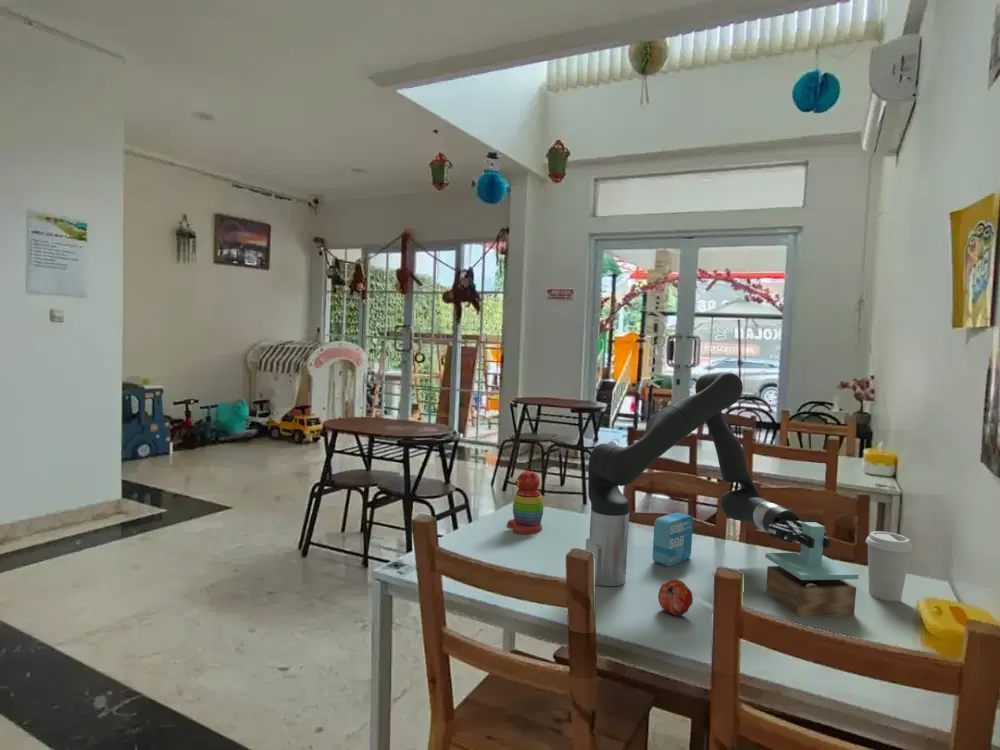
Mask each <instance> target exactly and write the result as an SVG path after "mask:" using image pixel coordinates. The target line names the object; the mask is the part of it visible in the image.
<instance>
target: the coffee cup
mask: <svg viewBox="0 0 1000 750" xmlns="http://www.w3.org/2000/svg"><path fill="white" fill-rule="evenodd" d="M865 543H866V544H867V557H868V558H867V559H868V560H867V562H868V563H867V565H868V567H867V568H868V594H869V595H871V596H872V597H874V598H876V599H880V600H883V601H888V602H899V603H900V602H902V598H903V592H904V586H905V580H906V576H907V570H908V565H909V560H910V556H911V552H913V551H914V548H913V544H912V543H911V540H910V538H908V537H907V536H904V535H902V534H898V533H894V532H889V531H881V530H880V531H879V530H877V531H871V532H870V533H869V535H868V536H867V537H866V539H865Z"/></svg>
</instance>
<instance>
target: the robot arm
mask: <svg viewBox="0 0 1000 750" xmlns="http://www.w3.org/2000/svg"><path fill="white" fill-rule="evenodd" d="M694 387H695V393H694V394H692V395H689V396H686V397H684V398H682V399H678V400H676V401H673V402H672V403H670V404H668V405H666V406H664V407H663V408H662V409H660V410H659V411H657V412H656V413H654V414H653V415H651V417H650V418H649V420H648V421H647V424H646V427H645V431H644V434H643V436H642V437H641V438H639V439H638V440H636V441H635V442H633V443H632V444H630V445H628V446H619V445H614V444H611V443H600V444H597V445H596V446H595V447H594V448H593V450H592V451H591V453H590V455H589V459H588V468H587V471H588V473H587V474H588V476H587V477H588V478H587V480H588V481H587V485H588V486H587V487H588V491H587V492H588V499H589V501H590V521H589V537H588V538H586V540H585V552H586V551H590V552H593V553H594V559H595V585H594V586H604V587H618V586H622V585H624V584H625V583H626V580H627V579H626V578H627V562H628V561H627V560H628V559H627V558H628V541H629V521H630V500H628V498H627V497H626V496H625V495H624V494H623V493H622V492H621V490H620V489H619V487H624V486H628V485H630V484H631V483H632V482H634V481H635V480H637V478H638V477H640V475H642V473H644V472H645V471H646V470H647V469H648V468H649V467H650V466H651V465H652V464H653V463H654V462H655V461H656V460H657V459H659V458H660V457H661V456H662V455H664V454H665V453H666V452H667V451H668V450H671V448H673V447H674V446H676V445H677V444H678V443H680V442H681V441H682V440H684V439H685V438H686V437H688V436H689V435H691V434H692V433H693V432H694V431H695V430H697V429H698V428H700V427H701V426H702V425H703V424H704V423H706V425H707V428H708V430H709V433H710V437H711V438H712V441H713V445H714V448H715V453H716V456H717V461H718V466H719V470H720V474H721V478H722V480H723V481H724V482H726V483H738V484H739V486H740V488H739V489H735V490H729V491H727V492H725V493H723V495H721V498H720V499H719V501H720V502H719V504H720V508H721V510H722V512H723V513H724V515H726V516H727V517H729V518H731V519H733V520H736V521H740V522H745V523H751V524H752V525H755V526H756V527H758V528H759V529H760V530H762V531H763V532H765V533H766V534H768V536H770V537H772V538H776V539H777V540H779V541H784V542H787V543H794V542H795V543H796V544H801V543H802V544H803V545H805V546H807V547H809V548H814V542H815V540H814V538H812V537H810V536H808V535H806V534H802V525H803V522H804V521H801V520H800V518H799V516H798V515H797V514H796V513H795V512H794V511H792V510H790V509H787V508H786V507H783V506H782V505H780V504H777V503H774V502H771V501H769V500H766V499H765V498H762V497H761V494H760V493H759V491H758V489H757V487H756V485H755V483H754V481H753V479H752V476H751V474H750V472H749V470H748V465H747V464H748V463H747V460H746V455H745V451H744V449H743V446H742V444H741V442H740V441H739V439H738V438H737V437H736V435H735V434H734V432H733V431H732V429H731V428H730V427H729V425H728V424H727V422H726V420H725V418H724V416H723V411H724V410H726V409H728V408H729V407H732V406H733V405H735V404H736V403H737V402H738V401H739V400H740V399H741V396H742V394H743V387H744V386H743V382H742V380H741V378H740V376H738V375H737V374H735V373H734V372H729V371H722V372H721V371H720V372H714V373H709V374H707V373H706V374H704V375H703V374H702V376H699V378H698V379H697V381H696V382H695V385H694ZM830 546H831V538H829V537H827V530H824V539H823V549H829V548H830Z"/></svg>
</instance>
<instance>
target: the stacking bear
mask: <svg viewBox="0 0 1000 750" xmlns="http://www.w3.org/2000/svg"><path fill="white" fill-rule="evenodd" d="M515 485H516V487H517V488H518V490H516V493H515V495H514V499H513V503H512V513H513V518H511V519H509V520H508V521H507V523H506V525H507V527H509V528H512V533H513V534H515V535H521V536H522V535H531V534H536V533H539V532H541V531H542V530H543V525H542V518H543V516H544V509H545V508H544V501H543V496H542V494H541V492H540V490H539V487H540V477H539V474H538V473H536V472H534V471H530V470H528V469H525V471H523V472H522V473H520V475H518V477H516V479H515Z"/></svg>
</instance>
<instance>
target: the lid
mask: <svg viewBox="0 0 1000 750" xmlns="http://www.w3.org/2000/svg"><path fill="white" fill-rule="evenodd" d="M802 522H803V525H802V534H806V535H808V536H810V537H812V538H814V540H815V542H814V548H809V547H807V546H805V545H803V544H802V543H800V551H799V552H765V558H766V559H768V560H769V561H771V562H772V563H774V564H776V566H780V567H782V568H783V569H785V570H786V571H788V572H790V573H791V574H793V575H794V576H796V577H797V578H799V579H801V580H845V581H846V580H859V573H857V572H854V571H853V570H852V569H849V568H847V567H845V566H843V565H842V564H840V563H839V562H836V561H834V560H832V559H831V558H829V557H827V556H825V555H823V552H824V551H823V550H824V547H823V539H824V530H825V529H826V527H825V526H824V525H822V524H820V523H818V522H816V521H814V522H812V521H811V522H810V521H802ZM825 531H826V530H825Z"/></svg>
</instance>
